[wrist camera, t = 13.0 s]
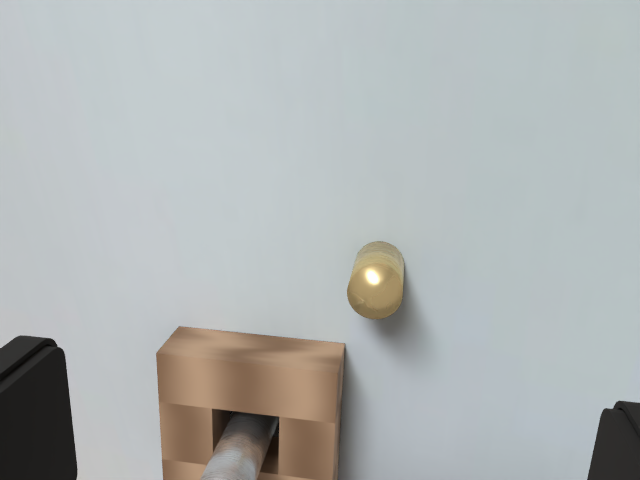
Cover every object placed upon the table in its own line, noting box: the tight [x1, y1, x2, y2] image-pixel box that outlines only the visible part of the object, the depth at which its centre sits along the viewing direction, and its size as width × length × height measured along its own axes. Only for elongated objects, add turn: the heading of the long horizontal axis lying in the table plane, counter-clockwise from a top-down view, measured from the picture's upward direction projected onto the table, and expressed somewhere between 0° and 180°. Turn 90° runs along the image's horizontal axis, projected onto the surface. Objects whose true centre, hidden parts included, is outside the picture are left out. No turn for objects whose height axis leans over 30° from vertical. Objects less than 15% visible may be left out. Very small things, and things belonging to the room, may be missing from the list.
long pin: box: [200, 411, 279, 480], centre depth 38 cm, size 3×3×12 cm
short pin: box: [347, 241, 404, 319], centre depth 37 cm, size 3×3×5 cm
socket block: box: [156, 326, 345, 480], centre depth 42 cm, size 12×12×4 cm
